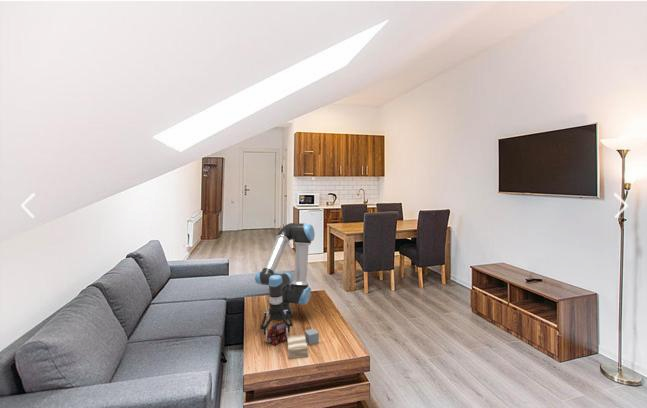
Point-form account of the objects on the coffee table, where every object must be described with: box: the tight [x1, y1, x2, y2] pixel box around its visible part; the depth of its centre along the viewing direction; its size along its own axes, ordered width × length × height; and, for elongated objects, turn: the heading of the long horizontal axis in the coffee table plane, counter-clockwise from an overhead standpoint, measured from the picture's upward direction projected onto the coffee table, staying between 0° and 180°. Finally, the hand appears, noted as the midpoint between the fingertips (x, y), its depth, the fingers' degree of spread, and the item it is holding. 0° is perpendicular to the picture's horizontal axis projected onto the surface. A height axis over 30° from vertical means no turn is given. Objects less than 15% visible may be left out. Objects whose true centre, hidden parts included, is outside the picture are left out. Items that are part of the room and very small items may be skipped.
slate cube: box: [304, 328, 320, 346], centre depth 178 cm, size 6×6×6 cm
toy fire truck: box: [266, 321, 287, 346], centre depth 178 cm, size 7×12×10 cm, turn 127°
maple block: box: [286, 333, 309, 359], centre depth 169 cm, size 15×10×5 cm, turn 9°
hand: (277, 338), depth 178 cm, fingers closed on toy fire truck, 11 cm apart
